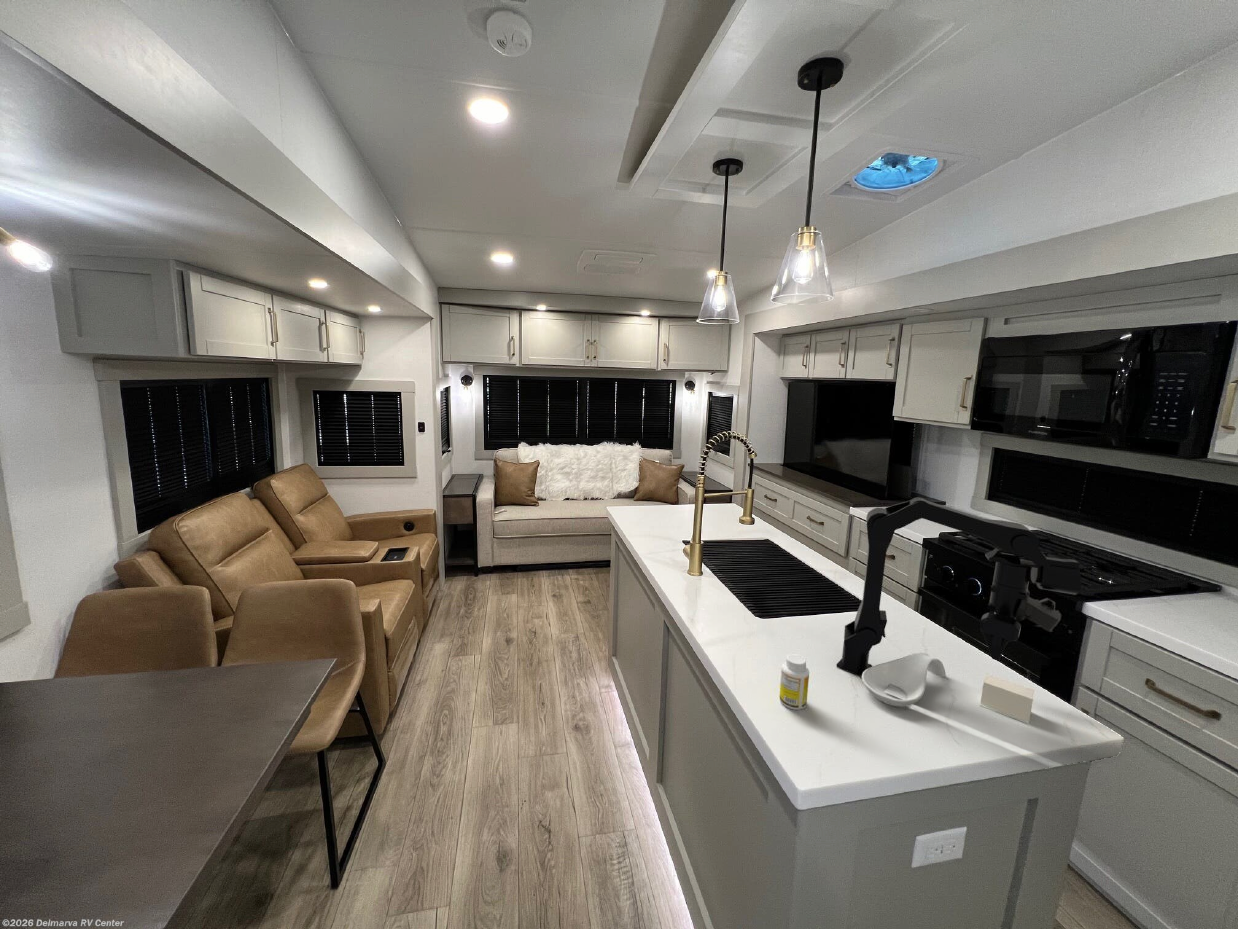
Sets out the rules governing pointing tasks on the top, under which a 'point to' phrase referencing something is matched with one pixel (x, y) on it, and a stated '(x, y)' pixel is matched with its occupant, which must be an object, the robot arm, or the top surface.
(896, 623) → the top surface
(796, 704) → the supplement bottle
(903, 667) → the spoon rest
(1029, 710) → the block
